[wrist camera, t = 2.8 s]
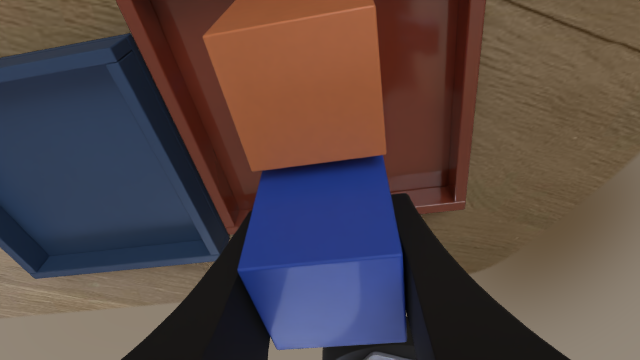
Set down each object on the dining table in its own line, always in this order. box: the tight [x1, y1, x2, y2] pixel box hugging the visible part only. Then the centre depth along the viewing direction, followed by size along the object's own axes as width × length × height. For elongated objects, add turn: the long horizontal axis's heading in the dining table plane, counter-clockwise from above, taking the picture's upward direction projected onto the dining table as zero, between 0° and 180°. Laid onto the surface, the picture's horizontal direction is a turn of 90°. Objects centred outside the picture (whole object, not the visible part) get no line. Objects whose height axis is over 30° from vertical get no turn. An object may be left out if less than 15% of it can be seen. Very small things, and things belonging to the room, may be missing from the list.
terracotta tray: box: [116, 0, 486, 235], centre depth 14 cm, size 11×11×2 cm
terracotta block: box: [203, 0, 387, 172], centre depth 11 cm, size 4×4×4 cm
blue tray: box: [0, 33, 230, 279], centre depth 16 cm, size 11×11×2 cm
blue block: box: [237, 155, 407, 350], centre depth 11 cm, size 4×4×4 cm
